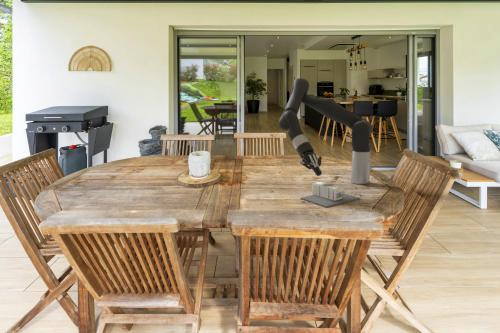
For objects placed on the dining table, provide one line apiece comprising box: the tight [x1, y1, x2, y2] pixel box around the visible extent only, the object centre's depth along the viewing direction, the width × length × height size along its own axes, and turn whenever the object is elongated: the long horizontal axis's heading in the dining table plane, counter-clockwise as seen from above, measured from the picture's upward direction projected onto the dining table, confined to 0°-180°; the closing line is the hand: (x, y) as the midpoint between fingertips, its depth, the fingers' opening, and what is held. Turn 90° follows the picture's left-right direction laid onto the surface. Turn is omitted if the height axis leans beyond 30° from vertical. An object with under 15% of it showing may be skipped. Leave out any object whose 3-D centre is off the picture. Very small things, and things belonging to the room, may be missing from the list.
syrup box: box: [311, 181, 345, 201], centre depth 177 cm, size 6×6×14 cm
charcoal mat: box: [300, 192, 361, 208], centre depth 176 cm, size 22×16×1 cm
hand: (319, 174), depth 180 cm, fingers closed
